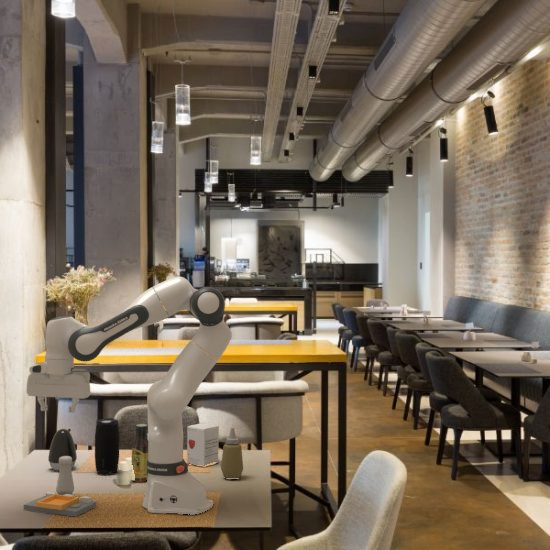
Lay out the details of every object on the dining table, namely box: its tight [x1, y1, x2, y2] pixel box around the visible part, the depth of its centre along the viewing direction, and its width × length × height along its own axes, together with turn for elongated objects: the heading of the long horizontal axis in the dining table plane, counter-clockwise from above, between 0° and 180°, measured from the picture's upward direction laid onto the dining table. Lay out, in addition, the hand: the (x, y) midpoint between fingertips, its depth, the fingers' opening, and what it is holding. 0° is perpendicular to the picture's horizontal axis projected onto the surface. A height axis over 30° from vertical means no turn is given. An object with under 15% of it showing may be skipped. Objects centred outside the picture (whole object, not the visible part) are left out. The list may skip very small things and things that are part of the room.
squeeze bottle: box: [220, 427, 244, 478], centre depth 274 cm, size 8×8×18 cm
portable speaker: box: [94, 417, 120, 476], centre depth 281 cm, size 9×9×20 cm
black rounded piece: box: [47, 428, 78, 472], centre depth 285 cm, size 10×10×15 cm
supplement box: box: [186, 422, 220, 466], centre depth 295 cm, size 9×9×15 cm
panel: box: [23, 491, 97, 518], centre depth 237 cm, size 19×11×3 cm, turn 70°
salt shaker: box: [55, 456, 75, 495], centre depth 250 cm, size 6×6×13 cm
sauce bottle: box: [131, 423, 148, 483], centre depth 270 cm, size 7×6×20 cm
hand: (58, 411), depth 239 cm, fingers open, 8 cm apart
